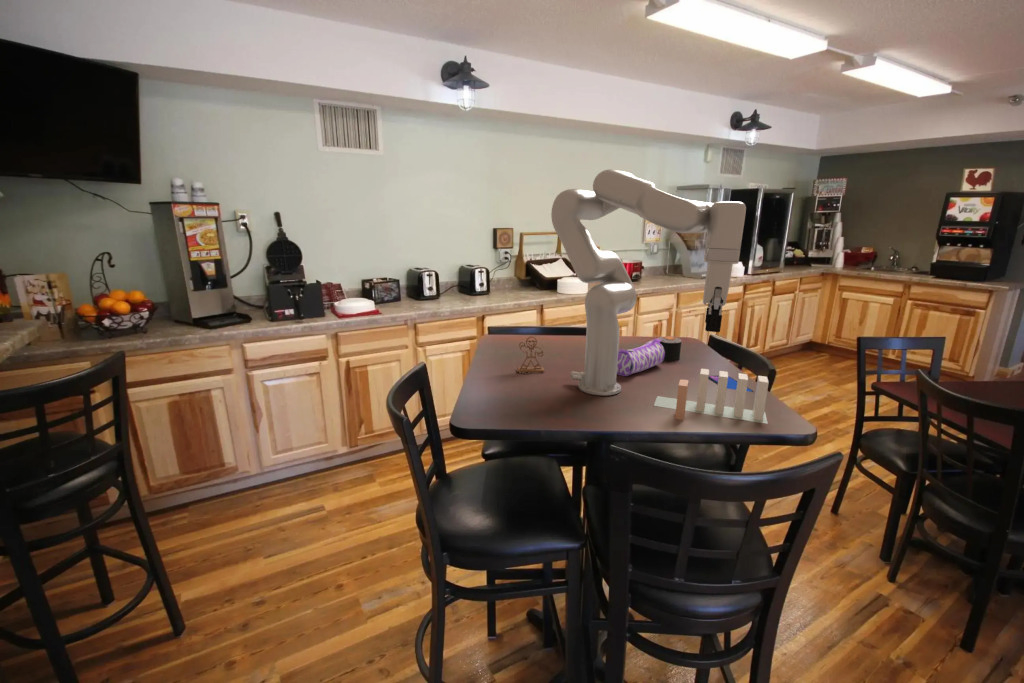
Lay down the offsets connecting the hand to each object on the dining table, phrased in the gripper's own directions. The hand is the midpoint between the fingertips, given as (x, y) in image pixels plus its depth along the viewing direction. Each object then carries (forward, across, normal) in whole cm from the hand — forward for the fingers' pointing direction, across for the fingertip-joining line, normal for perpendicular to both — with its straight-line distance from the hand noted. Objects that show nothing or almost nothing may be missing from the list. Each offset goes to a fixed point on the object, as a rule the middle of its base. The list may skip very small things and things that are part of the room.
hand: (712, 327), depth 113 cm
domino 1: (+24, +3, -5) cm, 25 cm away
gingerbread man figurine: (+25, -20, -53) cm, 62 cm away
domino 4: (+23, -4, +9) cm, 25 cm away
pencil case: (+25, -36, -20) cm, 48 cm away
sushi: (+25, -56, -12) cm, 62 cm away
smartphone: (+25, -32, +8) cm, 41 cm away
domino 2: (+23, -4, 0) cm, 23 cm away
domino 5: (+23, -4, +14) cm, 27 cm away
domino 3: (+23, -4, +4) cm, 24 cm away
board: (+24, -4, +2) cm, 24 cm away
